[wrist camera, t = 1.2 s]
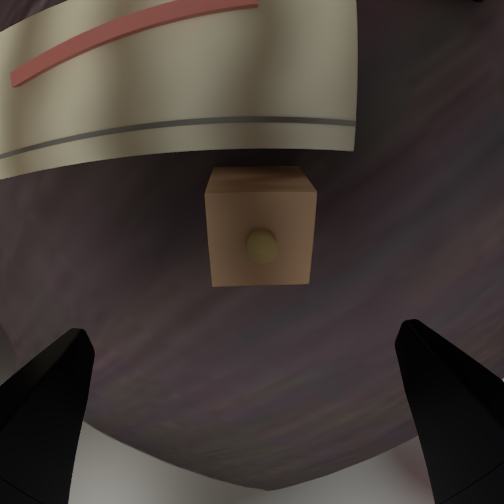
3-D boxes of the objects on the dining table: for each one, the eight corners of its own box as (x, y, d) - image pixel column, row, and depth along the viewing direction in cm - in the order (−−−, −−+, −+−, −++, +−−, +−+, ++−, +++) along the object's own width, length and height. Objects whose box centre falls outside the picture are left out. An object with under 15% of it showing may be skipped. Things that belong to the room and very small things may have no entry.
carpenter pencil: (254, -9, 11) (254, -14, 10) (257, 7, 11) (257, 3, 10) (16, 72, 11) (9, 73, 11) (18, 87, 12) (11, 87, 11)
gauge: (298, 165, 18) (321, 198, 13) (294, 239, 20) (311, 292, 15) (213, 166, 18) (202, 199, 13) (218, 241, 20) (211, 296, 15)
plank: (341, -11, 12) (355, -23, 10) (340, 143, 17) (354, 151, 15) (8, 40, 11) (-14, 40, 9) (18, 169, 16) (-3, 180, 14)
